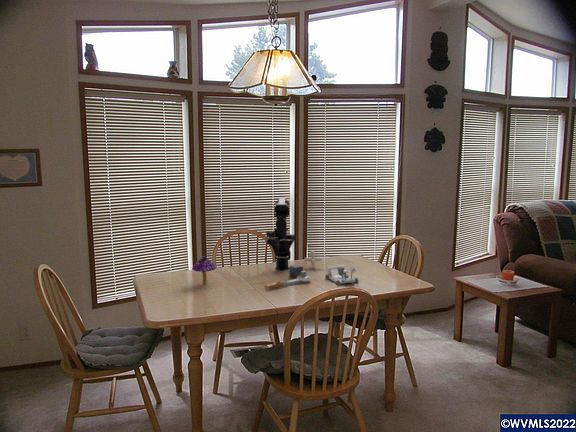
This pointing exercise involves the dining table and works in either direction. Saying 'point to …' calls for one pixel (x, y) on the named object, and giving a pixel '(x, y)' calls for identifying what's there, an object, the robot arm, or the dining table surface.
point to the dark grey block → (295, 271)
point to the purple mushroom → (204, 267)
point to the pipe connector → (312, 259)
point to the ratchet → (289, 282)
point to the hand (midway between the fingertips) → (281, 254)
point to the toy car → (341, 275)
